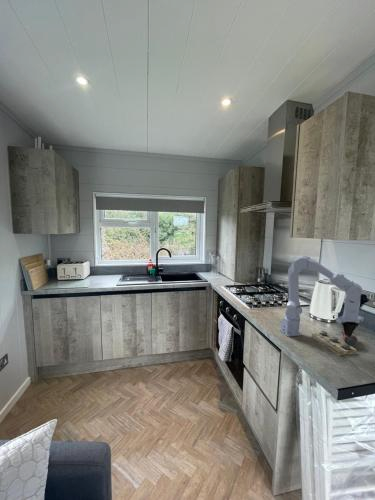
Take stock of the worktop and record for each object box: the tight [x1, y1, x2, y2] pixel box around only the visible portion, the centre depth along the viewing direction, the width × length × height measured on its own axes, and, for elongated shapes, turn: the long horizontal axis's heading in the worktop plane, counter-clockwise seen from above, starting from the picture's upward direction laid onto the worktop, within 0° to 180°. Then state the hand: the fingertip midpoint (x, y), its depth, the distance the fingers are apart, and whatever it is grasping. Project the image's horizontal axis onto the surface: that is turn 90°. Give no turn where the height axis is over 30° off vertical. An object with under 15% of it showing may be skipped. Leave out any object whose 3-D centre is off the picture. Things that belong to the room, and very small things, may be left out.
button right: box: [342, 344, 350, 350], centre depth 107 cm, size 3×3×2 cm
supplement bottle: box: [340, 328, 359, 347], centre depth 116 cm, size 6×6×11 cm
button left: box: [320, 330, 328, 336], centre depth 120 cm, size 3×3×2 cm
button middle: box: [331, 336, 339, 343], centre depth 114 cm, size 3×3×2 cm
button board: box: [311, 332, 357, 357], centre depth 114 cm, size 10×17×2 cm, turn 14°
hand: (347, 335), depth 107 cm, fingers closed
